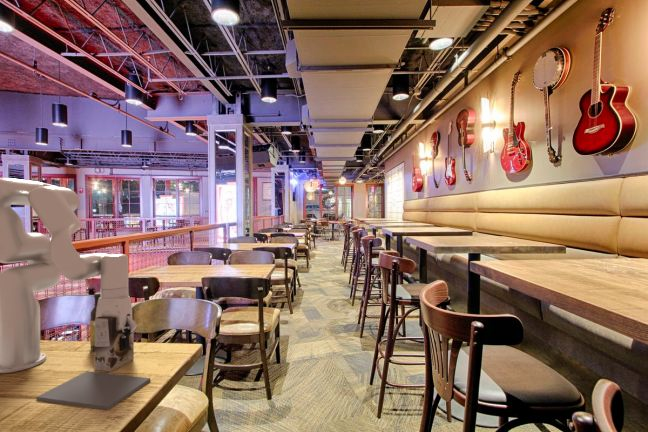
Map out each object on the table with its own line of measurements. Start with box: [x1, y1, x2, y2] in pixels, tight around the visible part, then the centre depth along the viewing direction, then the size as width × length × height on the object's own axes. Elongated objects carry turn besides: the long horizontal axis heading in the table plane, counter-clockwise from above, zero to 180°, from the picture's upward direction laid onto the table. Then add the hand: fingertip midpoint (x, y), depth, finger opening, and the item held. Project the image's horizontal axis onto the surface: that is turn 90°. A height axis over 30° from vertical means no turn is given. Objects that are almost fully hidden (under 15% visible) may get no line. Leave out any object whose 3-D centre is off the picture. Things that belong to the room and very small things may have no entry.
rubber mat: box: [36, 370, 151, 411], centre depth 87 cm, size 22×14×1 cm, turn 78°
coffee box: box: [94, 310, 135, 372], centre depth 102 cm, size 9×6×16 cm
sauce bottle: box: [89, 291, 101, 352], centre depth 115 cm, size 6×6×20 cm
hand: (115, 347), depth 102 cm, fingers closed on coffee box, 6 cm apart
